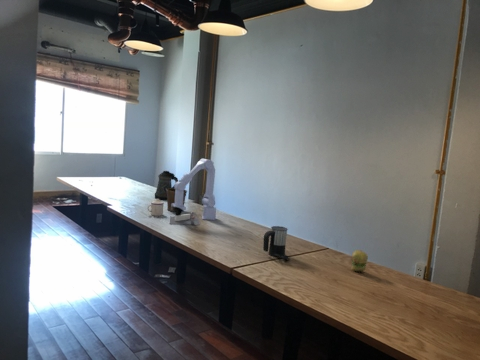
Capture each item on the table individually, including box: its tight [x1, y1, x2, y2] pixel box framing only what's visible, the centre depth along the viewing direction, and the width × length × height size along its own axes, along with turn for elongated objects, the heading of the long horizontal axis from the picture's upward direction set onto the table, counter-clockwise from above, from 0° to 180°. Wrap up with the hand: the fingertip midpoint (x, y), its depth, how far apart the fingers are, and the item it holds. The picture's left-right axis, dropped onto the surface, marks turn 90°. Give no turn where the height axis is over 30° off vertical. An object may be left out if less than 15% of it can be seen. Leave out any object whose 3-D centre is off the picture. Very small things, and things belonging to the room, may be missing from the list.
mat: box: [169, 215, 201, 226], centre depth 266 cm, size 20×22×1 cm
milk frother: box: [262, 225, 291, 262], centre depth 202 cm, size 14×16×15 cm
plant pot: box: [166, 189, 188, 213], centre depth 297 cm, size 16×16×16 cm
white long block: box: [174, 213, 190, 221], centre depth 266 cm, size 13×2×4 cm, turn 139°
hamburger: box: [350, 249, 369, 272], centre depth 188 cm, size 8×7×12 cm
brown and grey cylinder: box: [190, 215, 195, 226], centre depth 256 cm, size 3×3×6 cm
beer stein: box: [154, 170, 179, 201], centre depth 344 cm, size 16×19×25 cm
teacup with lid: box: [147, 199, 165, 217], centre depth 277 cm, size 12×9×12 cm
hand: (177, 218), depth 265 cm, fingers closed
